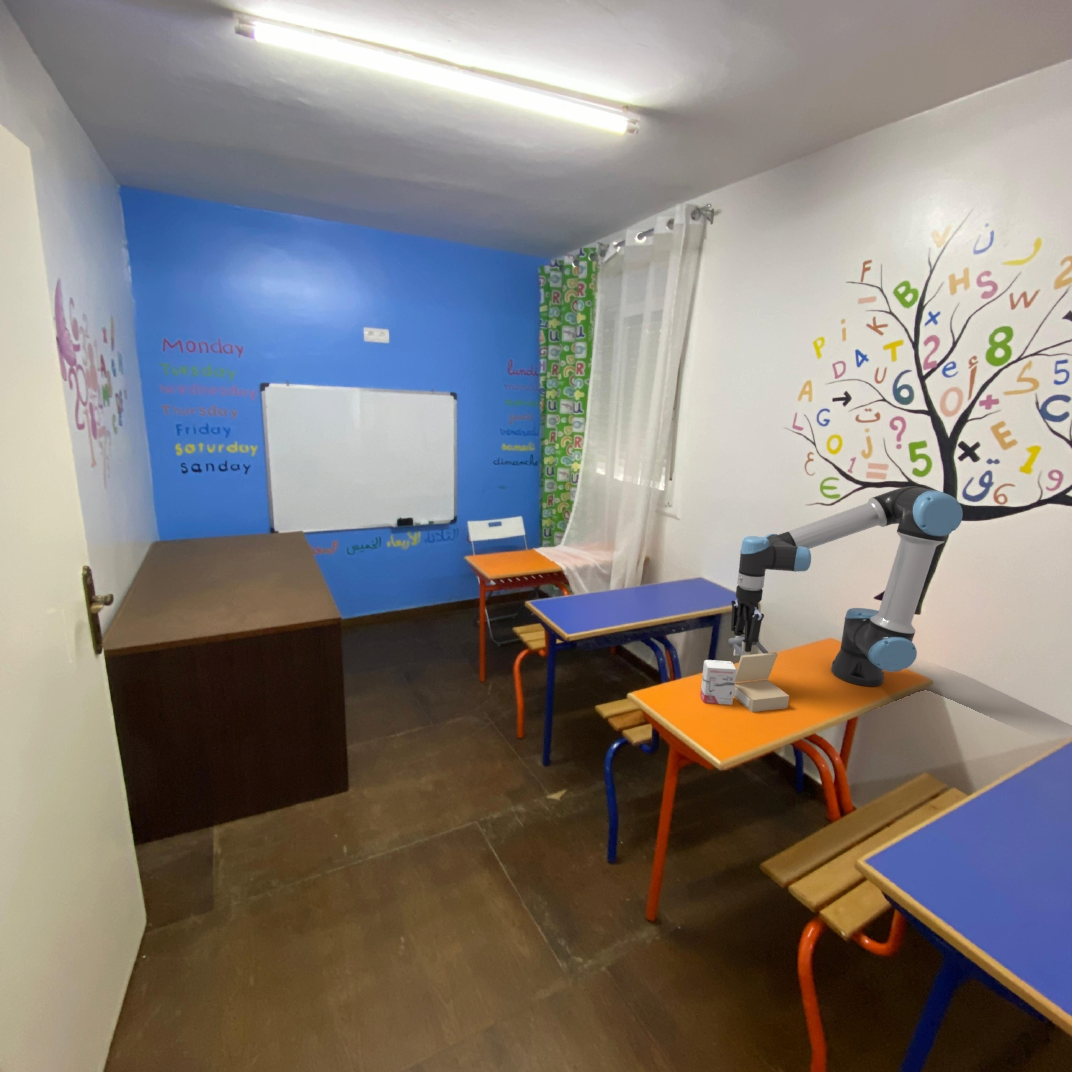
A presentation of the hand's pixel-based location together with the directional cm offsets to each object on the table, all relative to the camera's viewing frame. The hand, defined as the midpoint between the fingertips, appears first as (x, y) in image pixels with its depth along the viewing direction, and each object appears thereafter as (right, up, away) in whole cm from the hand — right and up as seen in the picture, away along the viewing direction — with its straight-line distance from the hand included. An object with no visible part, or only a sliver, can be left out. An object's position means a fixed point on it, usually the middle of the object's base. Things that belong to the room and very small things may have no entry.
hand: (741, 657), depth 169 cm
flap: (+2, -2, -7) cm, 7 cm away
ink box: (-11, -11, -8) cm, 17 cm away
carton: (+2, -11, -8) cm, 14 cm away
